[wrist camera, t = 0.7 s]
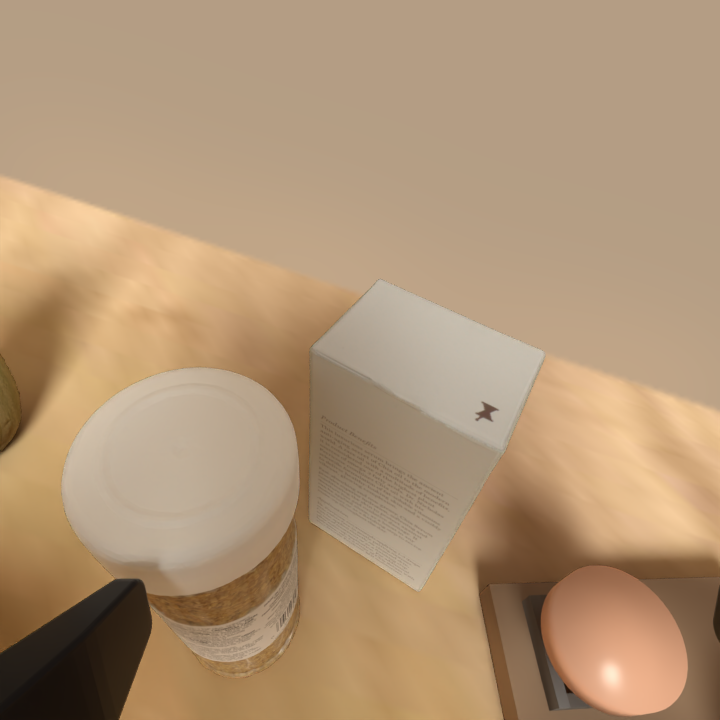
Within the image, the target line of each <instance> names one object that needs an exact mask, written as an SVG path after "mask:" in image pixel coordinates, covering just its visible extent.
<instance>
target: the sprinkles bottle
mask: <svg viewBox="0 0 720 720" xmlns="http://www.w3.org/2000/svg"><path fill="white" fill-rule="evenodd" d="M299 486H300V479H299V456H298V447H297V440H296V434H295V431H294V427H293V424H292V422H291V420H290V418H289V415H288V413H287V412H286V410H285V409H284V407H283V406H282V404H281V403H280V402H279V401H278V400H277V398H276V397H275V396H274V395H273V394H272V393H271V392H270V391H269V390H267V389H266V388H265V387H263V386H262V385H260V384H259V383H257V382H255V381H254V380H252V379H250V378H248V377H246V376H243V375H241V374H238V373H235V372H231V371H227V370H222V369H216V368H205V367H194V368H182V369H177V370H171V371H167V372H163V373H159V374H156V375H153V376H150V377H148V378H145V379H143V380H141V381H138V382H136V383H134V384H132V385H130V386H129V387H127V388H125V389H123V390H122V391H120V392H118V393H117V394H116V395H114V396H113V397H111V398H110V399H109V400H108V401H106V402H105V403H104V404H103V405H102V406H101V407H100V408H99V409H98V410H96V411H95V412H94V414H93V415H92V416H91V417H90V418H89V419H88V421H87V422H86V423H85V424H84V425H83V427H82V428H81V430H80V431H79V433H78V434H77V436H76V438H75V440H74V442H73V443H72V446H71V448H70V450H69V452H68V455H67V458H66V461H65V464H64V469H63V475H62V489H61V494H62V500H63V506H64V511H65V514H66V516H67V519H68V522H69V524H70V526H71V528H72V529H73V531H74V532H75V534H76V535H77V537H78V538H79V540H80V541H81V542H82V544H83V545H84V546H85V547H86V548H87V549H88V551H89V552H90V553H91V554H92V555H93V556H94V557H95V559H96V560H97V561H98V562H99V563H100V564H101V565H102V566H103V567H104V568H105V569H106V570H107V571H108V572H109V573H110V574H111V575H112V576H114V577H115V578H116V579H120V578H137V579H140V580H142V581H143V582H144V584H145V588H146V592H147V597H148V602H149V605H150V606H151V607H152V608H153V610H154V611H155V612H156V613H157V614H158V615H159V616H160V617H161V618H162V619H163V620H164V622H165V623H166V624H167V625H168V626H169V627H170V628H171V629H172V630H173V631H174V633H175V634H176V635H177V636H178V637H179V638H180V639H181V640H182V641H183V642H184V643H185V644H186V645H187V646H188V647H189V648H190V649H191V650H192V652H193V653H194V655H195V656H196V657H197V659H198V660H199V662H200V663H201V664H202V665H203V666H204V667H205V668H207V669H209V670H211V671H213V672H214V673H215V674H217V675H220V676H224V677H228V678H244V677H249V676H251V675H253V674H256V673H259V672H261V671H263V670H265V669H266V668H268V667H269V666H271V665H272V664H273V663H274V662H275V661H276V660H277V659H279V658H280V657H281V656H282V654H283V653H284V652H285V650H286V649H287V648H288V646H289V644H290V642H291V639H292V638H293V636H294V634H295V630H296V627H297V625H298V621H299V614H300V612H299V606H300V602H299V595H298V551H297V529H296V522H295V518H294V512H295V509H296V506H297V502H298V496H299Z"/></svg>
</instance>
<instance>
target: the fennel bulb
mask: <svg viewBox="0 0 720 720" xmlns="http://www.w3.org/2000/svg"><path fill="white" fill-rule="evenodd" d="M20 421H21V406H20V395H19V391H18V389H17V386H16V382H15V380H14V378H13V376H12V375H11V372H10V370H9V368H8V367H7V365H6V363H5V360H4V359H3V358H2V356H1V354H0V452H1V451H2V450H3V449H4V448H5V446H6V445H7V444H8V443H9V442H10V441H11V440H12V439H13V436H14V434H15V433H16V431H17V429H18V426H19V424H20Z"/></svg>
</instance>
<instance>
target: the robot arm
mask: <svg viewBox="0 0 720 720" xmlns="http://www.w3.org/2000/svg"><path fill="white" fill-rule="evenodd" d="M713 628H714V632H715V635H716V637H717V640H718V642H719V643H720V584H719V589H718V594H717V600H716V605H715V611H714V616H713ZM151 629H152V617H151V612H150V607H149V602H148V597H147V592H146V588H145V584H144V582H143V581H142V580H140V579H137V578H120V579H116V580H113V581H112V582H110V583H108V584H107V585H105V586H104V587H102V588H101V589H99V590H98V591H96V592H95V593H93V594H91V595H90V596H88V597H87V598H85V599H84V600H82V601H81V602H79V603H78V604H76V605H74V606H73V607H71V608H70V609H68V610H67V611H65V612H64V613H62V614H61V615H59V616H57V617H56V618H54V619H53V620H51V621H50V622H48V623H47V624H45V625H44V626H42V627H40V628H39V629H37V630H36V631H34V632H33V633H31V634H30V635H28V636H27V637H25V638H23V639H22V640H20V641H19V642H17V643H16V644H14V645H13V646H11V647H10V648H8V649H6V650H5V651H3V652H2V653H0V720H119V718H120V715H121V713H122V710H123V707H124V705H125V702H126V699H127V696H128V694H129V691H130V688H131V686H132V683H133V680H134V678H135V675H136V672H137V669H138V667H139V664H140V661H141V659H142V656H143V653H144V651H145V648H146V645H147V642H148V640H149V637H150V634H151Z"/></svg>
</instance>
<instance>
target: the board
mask: <svg viewBox="0 0 720 720" xmlns="http://www.w3.org/2000/svg"><path fill="white" fill-rule="evenodd" d="M638 580H639V581H641V582H642V583H644V584H645V585H646V586H647V587H648V588H650V589H651V590H652V591H653V592H654V593H655V594H656V595H657V596H658V597H659V599H660V600H661V601H662V602H663V603H664V605H665V606H666V607H667V609H668V610H669V611H670V613H671V615H672V616H673V618H674V620H675V621H676V624H677V626H678V628H679V630H680V632H681V635H682V637H683V640H684V644H685V648H686V653H687V660H688V671H687V679H686V683H685V686H684V689H683V691H682V693H681V695H680V696H679V697H678V699H677V700H676V701H675V702H674V703H673V704H672V705H671V706H669V707H668V708H666V709H664V710H661V711H659V712H655V713H649V714H644V715H638V716H632V717H618V716H613V715H609V714H606V713H603V712H601V711H599V710H597V709H595V708H593V707H591V706H590V705H588V704H586V703H585V702H584V701H582V700H581V699H580V698H579V697H577V696H576V695H575V694H574V693H573V692H572V691H571V690H570V689H569V688H568V687H567V685H566V684H565V683H564V682H563V681H562V679H561V678H560V676H559V675H558V674H557V672H556V671H555V669H554V667H553V665H552V663H551V661H550V659H549V657H548V655H547V652H546V649H545V646H544V643H543V638H542V633H541V612H542V607H543V604H544V601H545V599H546V596H547V594H548V593H549V592H550V590H551V589H552V588H553V587H554V586H555V585H556V584H557V583H558V582H542V583H510V584H489V585H488V586H487V587H486V588H485V589H484V590H483V591H482V592H481V593H480V594H479V596H480V601H481V606H482V611H483V616H484V621H485V626H486V631H487V636H488V641H489V646H490V651H491V655H492V660H493V665H494V670H495V675H496V680H497V685H498V690H499V695H500V700H501V705H502V710H503V715H504V720H720V643H719V642H718V640H717V637H716V635H715V632H714V628H713V616H714V611H715V605H716V600H717V594H718V589H719V584H720V577H699V578H668V579H638Z"/></svg>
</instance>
